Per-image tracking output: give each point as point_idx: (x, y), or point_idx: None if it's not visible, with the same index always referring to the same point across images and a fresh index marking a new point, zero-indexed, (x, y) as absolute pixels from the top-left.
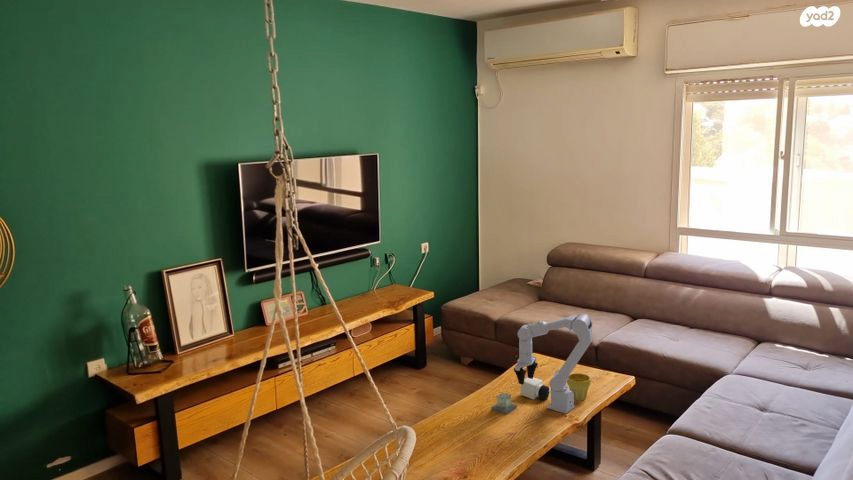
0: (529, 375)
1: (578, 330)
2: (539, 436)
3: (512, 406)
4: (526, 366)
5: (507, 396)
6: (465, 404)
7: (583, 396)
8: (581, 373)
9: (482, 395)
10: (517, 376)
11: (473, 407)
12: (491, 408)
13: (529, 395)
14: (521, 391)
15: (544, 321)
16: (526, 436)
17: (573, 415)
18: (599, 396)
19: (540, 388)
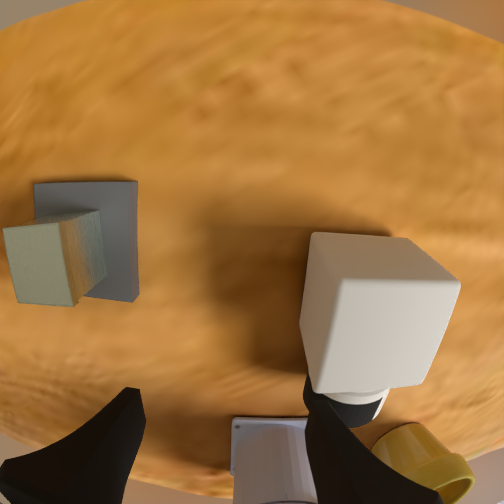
0: (315, 433)
1: None
2: (42, 436)
3: (102, 289)
4: (353, 489)
5: (41, 296)
6: (45, 32)
7: None
8: (470, 488)
9: (186, 11)
10: (77, 436)
11: (31, 85)
12: (39, 183)
13: (304, 306)
14: (315, 246)
15: None
16: (14, 406)
17: None
18: None
19: (329, 402)
